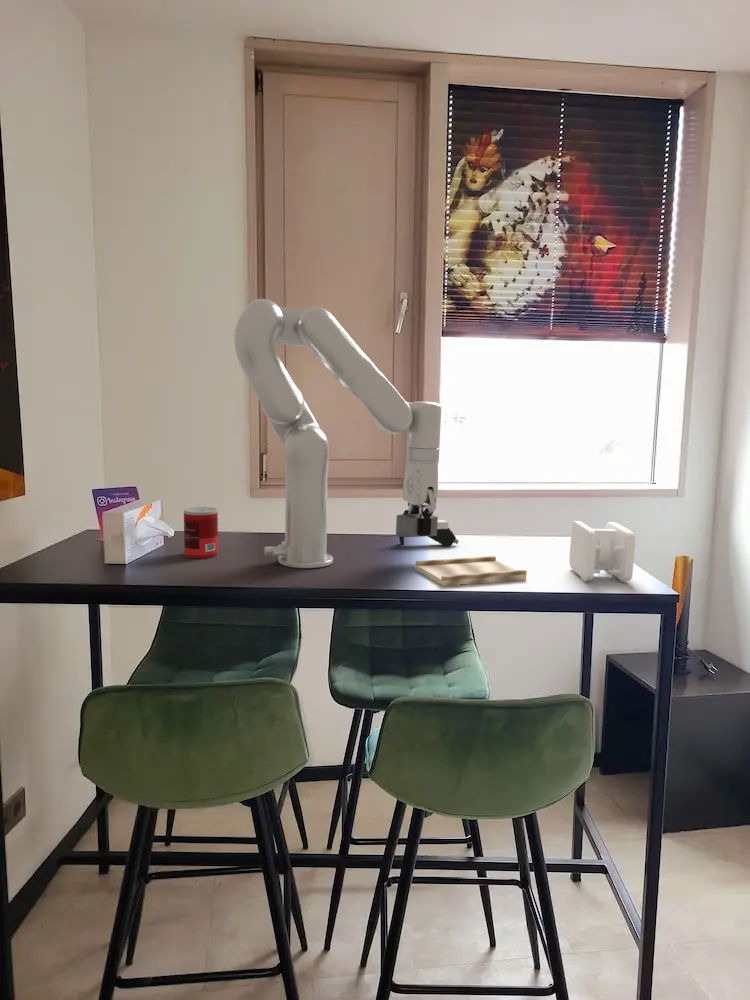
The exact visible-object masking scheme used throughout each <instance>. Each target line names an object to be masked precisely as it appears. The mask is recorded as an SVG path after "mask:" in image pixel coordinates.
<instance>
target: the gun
mask: <svg viewBox="0 0 750 1000" xmlns="http://www.w3.org/2000/svg"><path fill="white" fill-rule="evenodd" d="M402 514H409V513H408V509H405V510H404V511H403V513H402ZM426 537H427V538H430V539H431V540H433V541H434V542H437V543H438V544H441V545H442V546H444V547H446V548H450V547H449V546H451V547H452V546H453V544H456V545H458V544H459V541H460V540H459V539H457V538H456V535H455V534H454V532H452V530H451V528H449V526H448V529H437V536H426ZM398 538H399V544H400V545H401V544H402V545H403V546H404V545H405V537H400V536H398Z"/></svg>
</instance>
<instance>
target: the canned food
mask: <svg viewBox="0 0 750 1000" xmlns="http://www.w3.org/2000/svg"><path fill="white" fill-rule="evenodd" d="M218 512H219V511H218V509H217V508H215V507H212V506H194V507H188V508H185V509H184V510H183V533H184V534H183V538H184V539H183V541H184V542H183V543H184V549H183V550H184V555H185V557H187V558H189V559H192V560H193V559H194V560H199V559H200V560H202V559H203V560H204V559H205V560H206V559H211V558H214V557H216V556H217V555H218V551H219V545H218V544H219V537H218V536H219V535H218V532H219V530H218V529H219V525H218V524H219V523H218V521H219V519H218V517H219V515H218Z"/></svg>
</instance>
